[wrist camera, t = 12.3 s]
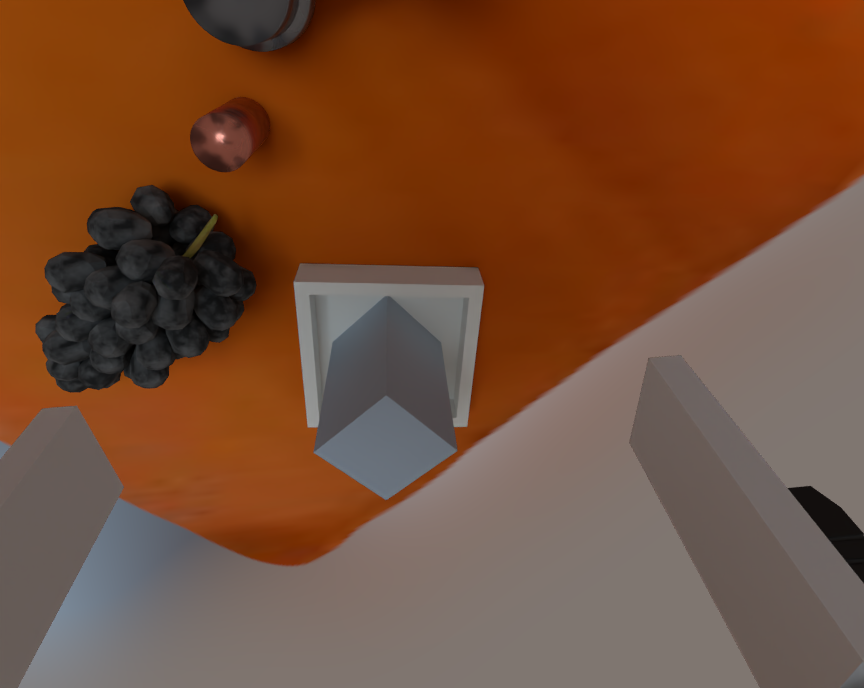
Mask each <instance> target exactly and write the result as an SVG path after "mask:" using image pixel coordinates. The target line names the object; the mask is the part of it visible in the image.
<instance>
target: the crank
mask: <svg viewBox="0 0 864 688" xmlns="http://www.w3.org/2000/svg"><path fill="white" fill-rule="evenodd" d="M183 1H184V3H185V5H186V7H187V9H188V10H189V12H190V13H191V15H192V16H193V18H194V19H195V20H196V21H197V23H198V24H199V25H200V26H201V27H202V28H203V29H204V30H205V31H207V32H208V33H209V34H211V35H212V36H214V37H215V38H217V39H219V40H221V41H223V42H225V43H229V44H232V45H237V46H249V45H254V44H258V43H262V42H265V41H269V40H273V39H275V38H277V37H279V36H280V35H282V34H283V33H284V32H285V31H286V30H287V29H288V28H289V27H290V26H291V24H292V22H293V21H294V19H295V16H296V14H297V11H298V7H299V0H183Z"/></svg>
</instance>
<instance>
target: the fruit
mask: <svg viewBox="0 0 864 688" xmlns="http://www.w3.org/2000/svg"><path fill="white" fill-rule="evenodd" d="M130 203H131V205H132V207H133V209H134V211H133V210H130V209H125V208H121V207H111V208H101V209H96V210H95V211H93V212H92V214H91V215H90V217H89V218H88V221H87V229H88V233H89V234H90V235H91V237H92V238H93V239H94V241H96V242H97V243H98V244H95V245H89V246H88V247H87V249H86V250H85V251H84V252H63V253H61V254H59V255H57V256H55V257H53V258H51V259H49V260H48V262H47V264H46V266H45V268H44V269H45V278H46V279H47V281H48V282H49V284H50V285H51V286H52V293H53V294H54V296H55V297H56V298H57V300H58V301H59V302H63V303H67V304H65V305H64V306H62V307H61V309H60V311H59V312H58V313H57V315H46V316H44V317H43V318H42V319H41V320H40V321H39V322H38V323H36V334H37V335H38V337H39V338H40V340H41V341H42V343H43V345H42V346H43V352H44V354H45V356H46V357H47V359H48V360H47V362H46V367H47V371H48V372H49V373H50V375H51V376H52V377H54V378H55V380H56V383H57V385H58V386H59V387H60V388H61V389H63V390H65V391H68V392H81V391H83V390H85V389H87V388H92V389H97V390H100V389H102V388H108V387H110V386H111V385H113V384H115V383H116V382H118V381H119V380H120V376H121V372H122V371H123V370H124V375H125V376H126V377H128V378H130V379H132V381H133V382H134V384H136V385H138V386H140V387H143V388H157V387H159V386H160V385H162V384H163V383H164V382H165V380H166V379H167V378H168V376H169V366H170V365H172V364H173V362H174V360H175V359H180V358H183V357H188V358H190V357H194V356H198V355H201V354H202V353H203V352H204V351H205V350H206V348H207V346H208V343H209V341H211V342H219V343H220V342H221V341H223V340H225V339H226V338H227V337H228V336H229V329H230V327H231V326H233V325H234V324H235V322H236V321H237V320H238V319H239V318H240V317H241V315H242V313H243V312H244V304H243V301H244V300H247V299H248V298H249V297H250V296H252V295H253V294H254V293H255V289H256V281H255V277H254V275H253V272H251V271H249V270H247V269H245V268H243V267H241V266H239V265H238V264H237V263H235V262H234V261H233V259H234V258H235V254H236V248H235V245H234V242H233V239H232V238H231V237H229V236H228V235H226V234H225V233H223V232H214V231H213V229H214V225H215V223H216V222H217V219H218V216H217V215H216V214H214V215H213V217H212V216H211V215H210V213H209V212H208V211H207V210H205V209H203V208H202V207H200V206H198V205H190V206H188V207H186V208H184V209H182V210H180V211H177V210H176V209H175V207H174V203H173V201H172V200H171V198H170V197H169V195H168V194H167V193H166V192H164V191H162V190H161V189H159V188H157V187H155V186H154V185H149V186H144V187H139V188H137V189H136V191H135V193H134V195H133V197H132V199H131V201H130Z"/></svg>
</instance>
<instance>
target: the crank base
mask: <svg viewBox="0 0 864 688" xmlns="http://www.w3.org/2000/svg"><path fill="white" fill-rule="evenodd" d="M315 2H316V0H299V7H298V11H297V14H296V16H295V19H294V21H293V22H292V24H291V26H290V27H289V28H288V29H287V30H286V31H285V32H284V33H283V34H282V35H280V36H279V37H277V38H275V39H273V40H269V41H265V42H262V43H258V44H254V45H249V46H240V47H242V48H245V49H248V50H252V51H259V52H264V51H272V50H276V49H279V48H282V47H285V46H287V45H289V44H291V43H293V42H294V41H296V40H297V39H298V38H299V37H300V36H301V35H302V34H303V33H304V32H305V31H306V29H307V28H308V26H309V24H310V22H311V19H312V17H313V13H314V9H315ZM269 132H270V121H269V117H268V115H267V113H266V111H265V110H264V108H263V107H262V106H261V105H260V104H259V103H257V102H256V101H254V100H252V99H250V98H246V97H238V98H234V99H232V100H230V101H228V102H227V103H225V104H223V105H222V106H220V107H218V108H216V109H215V110H213V111H211V112H209V113H208V114H206V115H204V116H203V117H201V118H199V119H198V120H197V121H196V122H195V124H194V125H193V127H192V130H191V135H190V140H191V145H192V148H193V151H194V153H195V155H196V156H197V157H198V159H199V160H200V161H201V162H202V163H203V164H204V165H206V166H207V167H209V168H211V169H213V170H216V171H219V172H230V171H234V170H236V169H238V168H239V167H240V166H242V165H243V163H244V162H245V161H246V160H247V159H248V158H249V157H250V156H251V155H252V154H253V153H254V152H255V151H256V150H257V149H258V148H259V146H260V145H261V144H262V143H263V142H264V141H265V140H266V139H267V137H268V135H269Z"/></svg>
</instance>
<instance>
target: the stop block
mask: <svg viewBox="0 0 864 688" xmlns="http://www.w3.org/2000/svg"><path fill="white" fill-rule="evenodd" d="M456 451H457V444H456V438H455V431H454V425H453V418H452V411H451V405H450V398H449V392H448V385H447V378H446V372H445V365H444V359H443V352H442V345H441V342H440V341H439V340H438V339H437V338H436V337H434V336H433V335H432V334H431V333H430V332H429V331H428V330H427V329H426V328H424V327H423V326H422V325H421V324H420V323H419V322H418V321H417V320H416V319H414V318H413V317H412V316H411V315H410V314H409V313H408V312H407V311H406V310H405V309H403V308H402V307H401V306H400V305H399V304H398V303H397V302H396V301H395V300H393V299H392V298H391V297H390V296H385V297H383V298H382V299H381V300H380V301H379V302H378V303H377V304H375V305H374V306H373V307H372V308H371V309H370V310H369V311H367V312H366V313H365V314H364V315H363V316H362V317H361V318H359V319H358V320H357V321H356V322H355V323H354V324H353V325H352V326H350V327H349V328H348V329H347V330H346V331H345V332H344V333H342V334H341V335H340V336H339V337H338V338H337V339H336V340H334V341H333V343H332V349H331V354H330V360H329V366H328V372H327V378H326V383H325V389H324V395H323V401H322V407H321V412H320V418H319V424H318V430H317V436H316V441H315V447H314V453H315V454H317V455H318V456H320V457H321V458H323V459H324V460H326V461H327V462H329V463H330V464H332V465H333V466H335V467H336V468H338V469H340V470H341V471H343V472H344V473H346V474H347V475H349V476H350V477H352V478H353V479H355V480H356V481H358V482H359V483H361V484H362V485H364V486H365V487H367V488H369V489H370V490H372V491H373V492H375V493H376V494H378V495H379V496H381V497H382V498H384V499H385V500H387V499H389V498H390V497H392V496H393V495H394V494H396V493H397V492H399V491H400V490H402V489H403V488H404V487H406V486H407V485H409V484H410V483H412V482H413V481H415V480H416V479H417V478H419V477H420V476H422V475H423V474H425V473H426V472H427V471H429V470H430V469H432V468H433V467H435V466H436V465H438V464H439V463H440V462H442V461H443V460H445V459H446V458H448V457H449V456H450V455H452V454H453V453H455V452H456Z"/></svg>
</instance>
